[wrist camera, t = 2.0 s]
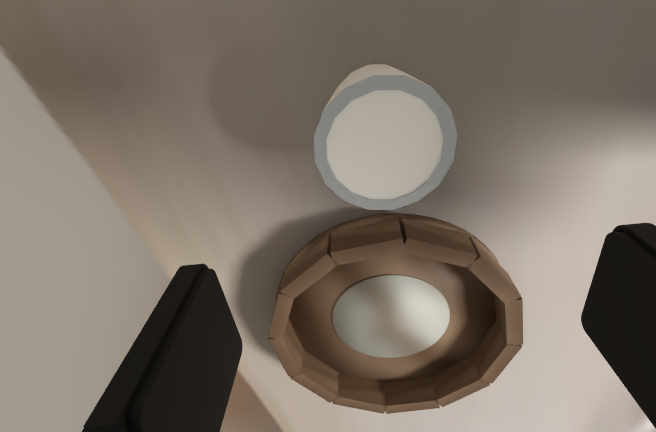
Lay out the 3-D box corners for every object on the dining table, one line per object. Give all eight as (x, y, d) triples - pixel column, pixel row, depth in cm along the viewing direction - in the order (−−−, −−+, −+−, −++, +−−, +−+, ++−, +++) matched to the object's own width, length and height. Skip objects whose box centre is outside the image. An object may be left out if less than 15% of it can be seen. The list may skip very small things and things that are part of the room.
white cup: (300, 96, 23) (283, 131, 17) (395, 26, 21) (414, 39, 15) (359, 177, 26) (361, 233, 20) (448, 124, 23) (482, 168, 17)
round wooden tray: (403, 162, 25) (410, 184, 22) (552, 313, 31) (573, 347, 28) (233, 306, 33) (221, 336, 30) (379, 402, 40) (382, 435, 37)
